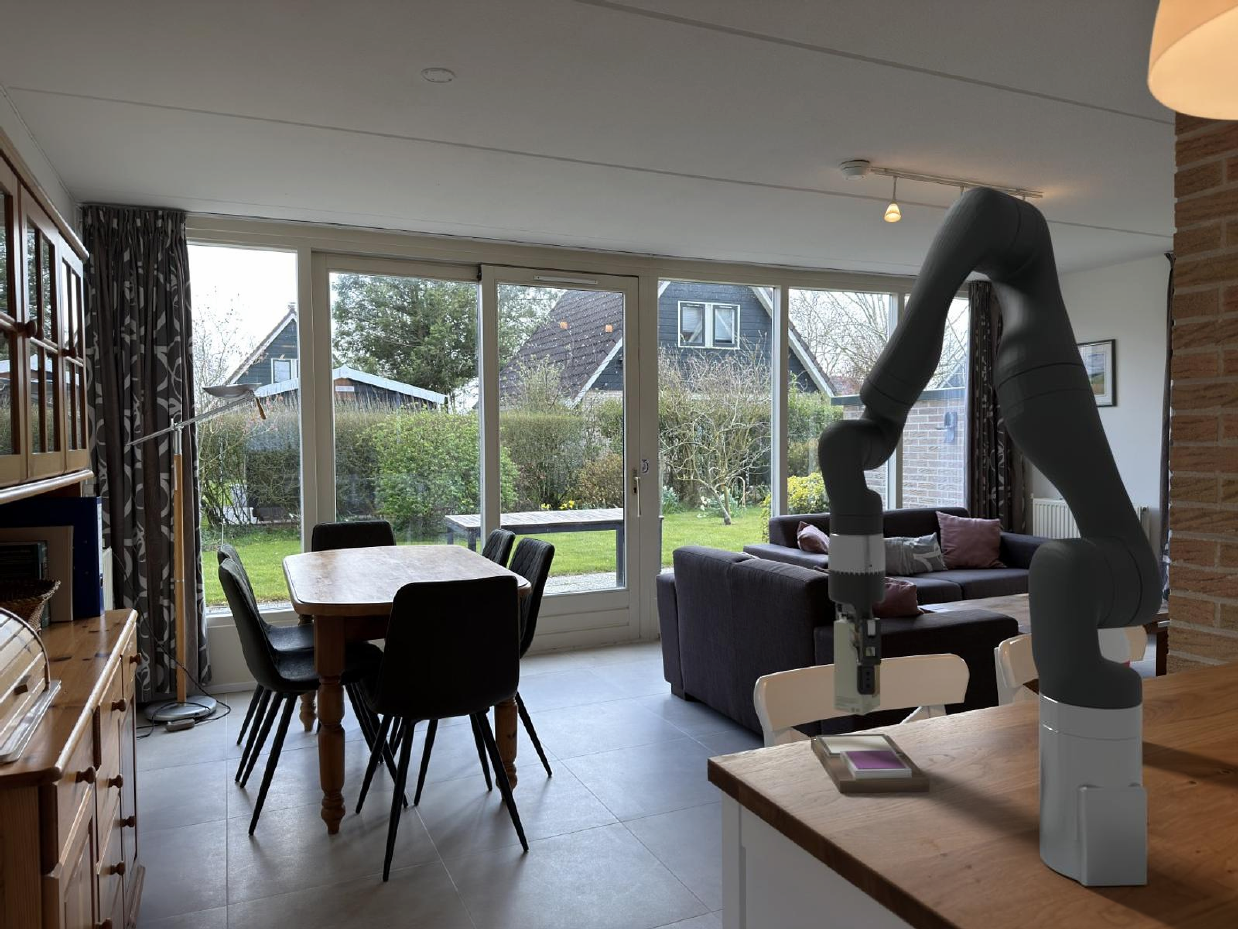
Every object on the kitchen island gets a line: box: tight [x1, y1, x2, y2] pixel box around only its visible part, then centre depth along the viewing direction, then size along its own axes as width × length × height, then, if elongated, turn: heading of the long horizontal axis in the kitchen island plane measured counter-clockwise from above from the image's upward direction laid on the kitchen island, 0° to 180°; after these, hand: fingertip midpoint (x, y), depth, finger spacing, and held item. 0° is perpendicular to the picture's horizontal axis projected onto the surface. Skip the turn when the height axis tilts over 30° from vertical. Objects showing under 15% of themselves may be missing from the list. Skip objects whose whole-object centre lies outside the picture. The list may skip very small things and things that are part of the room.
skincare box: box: [833, 617, 881, 716], centre depth 119 cm, size 6×4×12 cm
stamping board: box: [810, 733, 930, 794], centre depth 115 cm, size 16×11×3 cm
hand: (857, 685), depth 119 cm, fingers closed on skincare box, 7 cm apart
